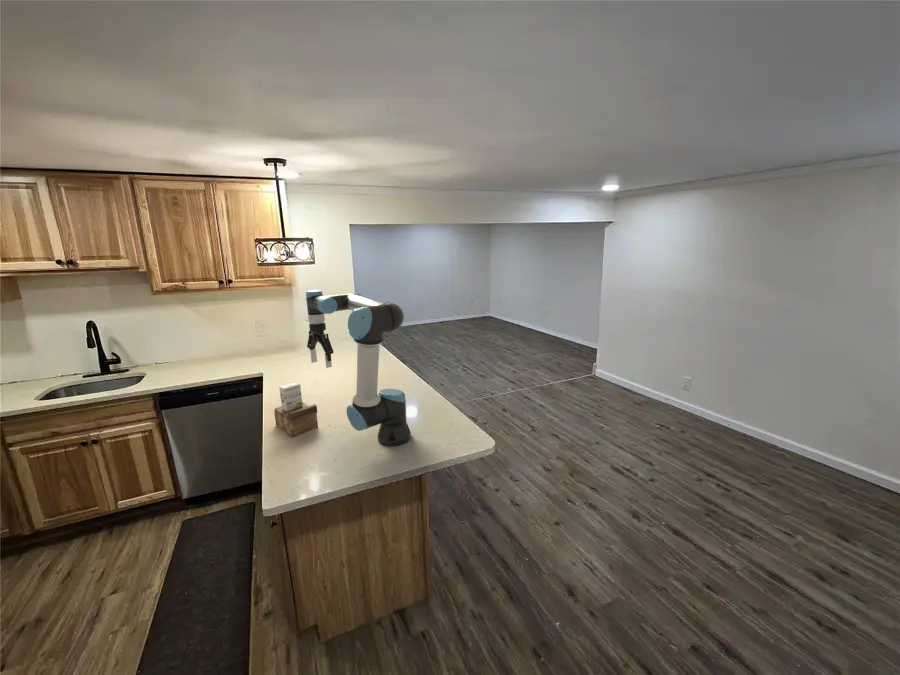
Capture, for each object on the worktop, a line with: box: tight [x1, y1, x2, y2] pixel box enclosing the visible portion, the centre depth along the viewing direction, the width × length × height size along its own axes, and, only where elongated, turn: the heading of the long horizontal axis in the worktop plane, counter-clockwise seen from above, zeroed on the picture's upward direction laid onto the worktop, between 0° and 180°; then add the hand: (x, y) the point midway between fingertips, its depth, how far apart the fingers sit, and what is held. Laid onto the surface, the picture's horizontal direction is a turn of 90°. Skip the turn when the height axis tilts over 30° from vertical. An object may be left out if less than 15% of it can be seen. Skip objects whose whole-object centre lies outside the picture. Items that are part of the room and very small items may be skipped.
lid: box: [274, 401, 318, 422], centre depth 193 cm, size 18×13×4 cm
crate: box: [273, 409, 319, 438], centre depth 196 cm, size 18×13×8 cm
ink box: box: [278, 381, 303, 411], centre depth 195 cm, size 9×5×12 cm, turn 138°
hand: (321, 364), depth 198 cm, fingers open, 13 cm apart
